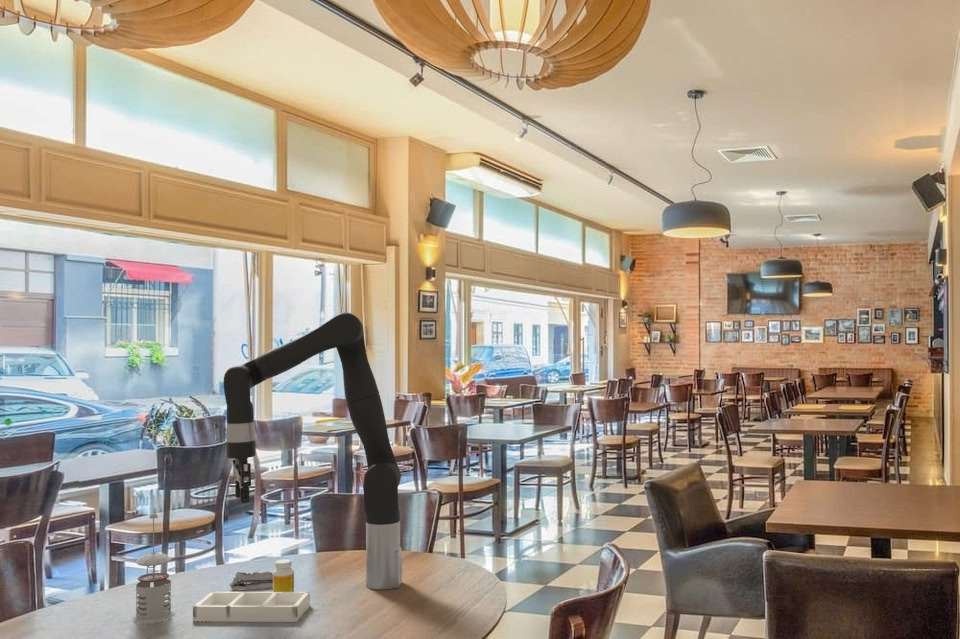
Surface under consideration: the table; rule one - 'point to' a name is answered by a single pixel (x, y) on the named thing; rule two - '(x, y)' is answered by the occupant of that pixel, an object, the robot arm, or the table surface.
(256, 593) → the rack
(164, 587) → the french press
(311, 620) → the table surface
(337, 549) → the table surface
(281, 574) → the supplement bottle
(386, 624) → the table surface
